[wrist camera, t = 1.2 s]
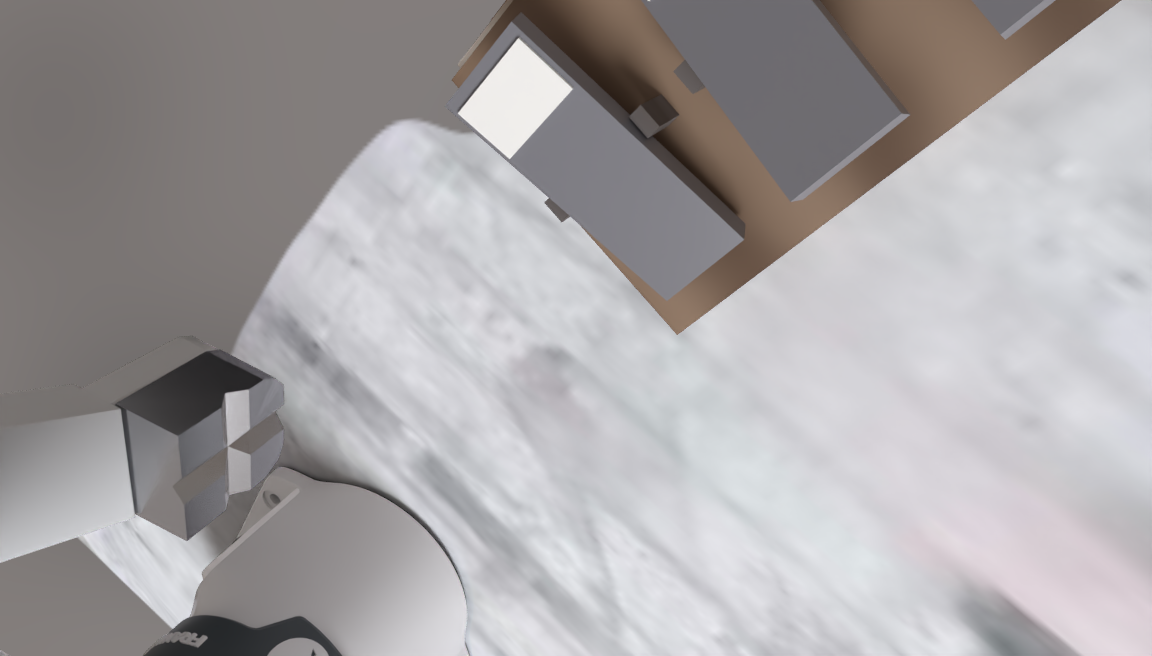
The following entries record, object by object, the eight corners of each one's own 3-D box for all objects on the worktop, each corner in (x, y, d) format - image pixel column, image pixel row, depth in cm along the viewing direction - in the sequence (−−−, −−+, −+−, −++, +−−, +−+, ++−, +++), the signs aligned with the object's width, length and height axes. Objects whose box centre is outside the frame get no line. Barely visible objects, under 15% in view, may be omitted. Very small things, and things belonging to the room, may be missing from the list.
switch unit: (696, 308, 36) (659, 359, 31) (480, 63, 35) (411, 79, 31) (1197, -76, 24) (1254, -82, 20) (886, -452, 23) (870, -547, 19)
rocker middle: (802, 199, 26) (788, 202, 25) (615, -53, 28) (595, -61, 27) (910, 114, 23) (900, 113, 22) (698, -153, 25) (679, -166, 24)
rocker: (670, 284, 32) (666, 302, 31) (455, 94, 29) (443, 107, 28) (745, 224, 30) (744, 241, 29) (520, 11, 27) (510, 22, 26)
